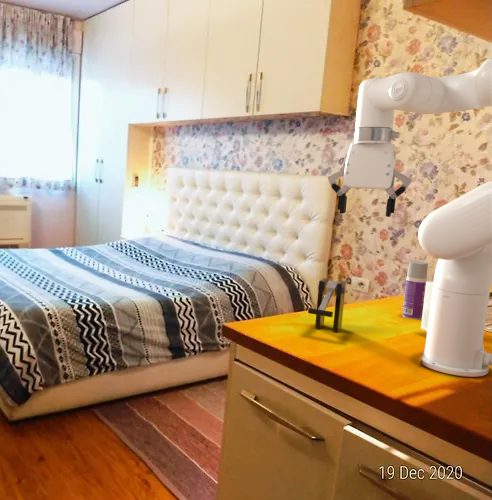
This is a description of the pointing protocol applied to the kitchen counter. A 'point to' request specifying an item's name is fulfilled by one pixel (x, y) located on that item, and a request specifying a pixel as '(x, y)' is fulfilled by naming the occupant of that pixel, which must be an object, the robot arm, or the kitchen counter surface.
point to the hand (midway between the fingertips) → (364, 214)
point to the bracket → (338, 305)
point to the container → (415, 290)
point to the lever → (326, 300)
